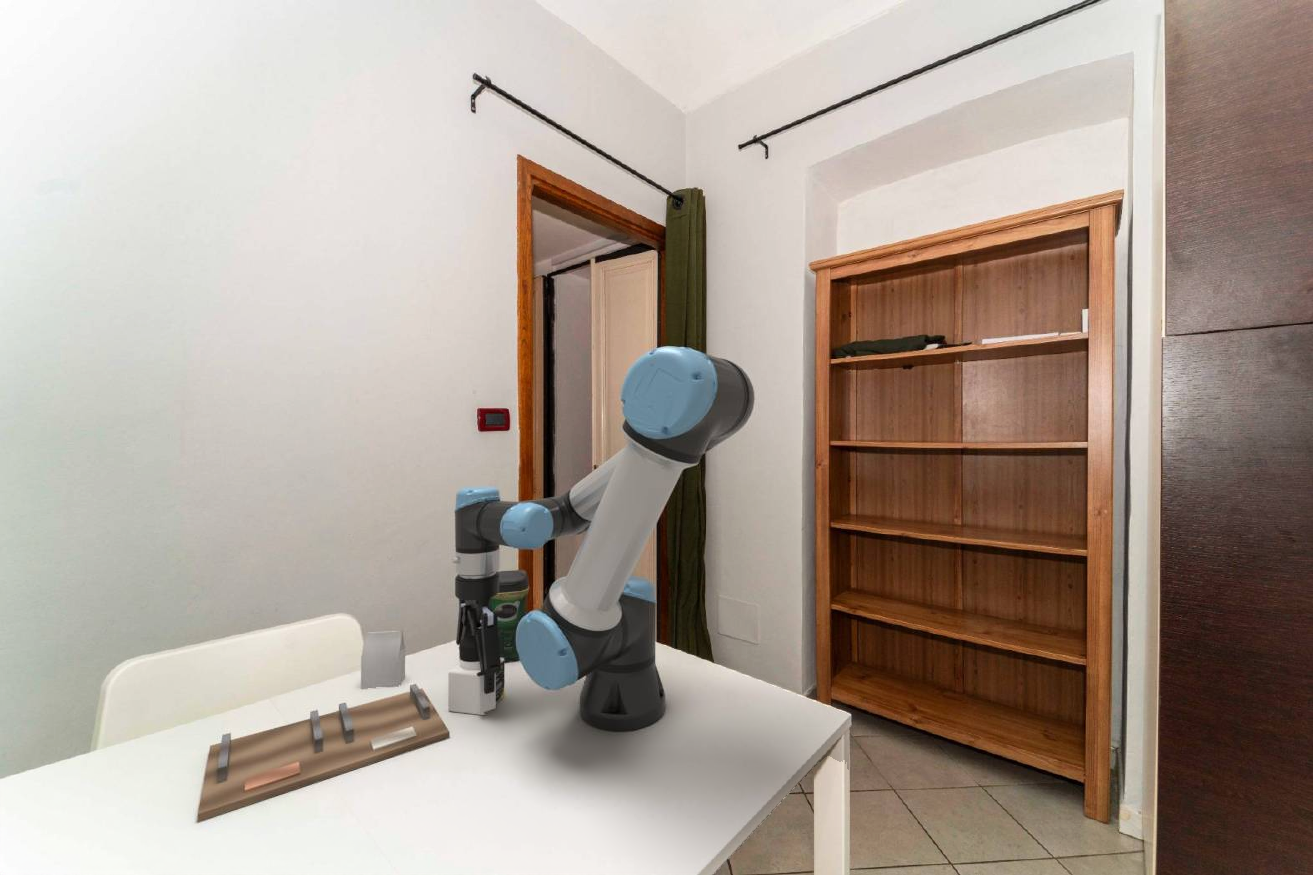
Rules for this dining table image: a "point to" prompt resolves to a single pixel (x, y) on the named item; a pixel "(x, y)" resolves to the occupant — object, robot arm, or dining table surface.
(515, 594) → the coffee jar
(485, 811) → the dining table surface
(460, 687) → the medicine bottle
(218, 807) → the stand
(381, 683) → the grey boxy piece
